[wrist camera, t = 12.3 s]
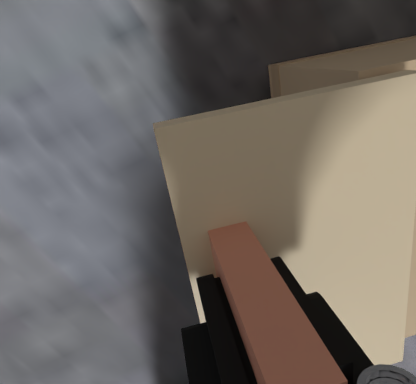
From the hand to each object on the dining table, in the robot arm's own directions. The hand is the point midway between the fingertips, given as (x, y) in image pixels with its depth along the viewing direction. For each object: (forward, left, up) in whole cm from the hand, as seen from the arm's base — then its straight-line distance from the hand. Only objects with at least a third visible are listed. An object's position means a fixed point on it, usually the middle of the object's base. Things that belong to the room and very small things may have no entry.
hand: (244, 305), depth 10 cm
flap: (-2, 0, -2) cm, 3 cm away
